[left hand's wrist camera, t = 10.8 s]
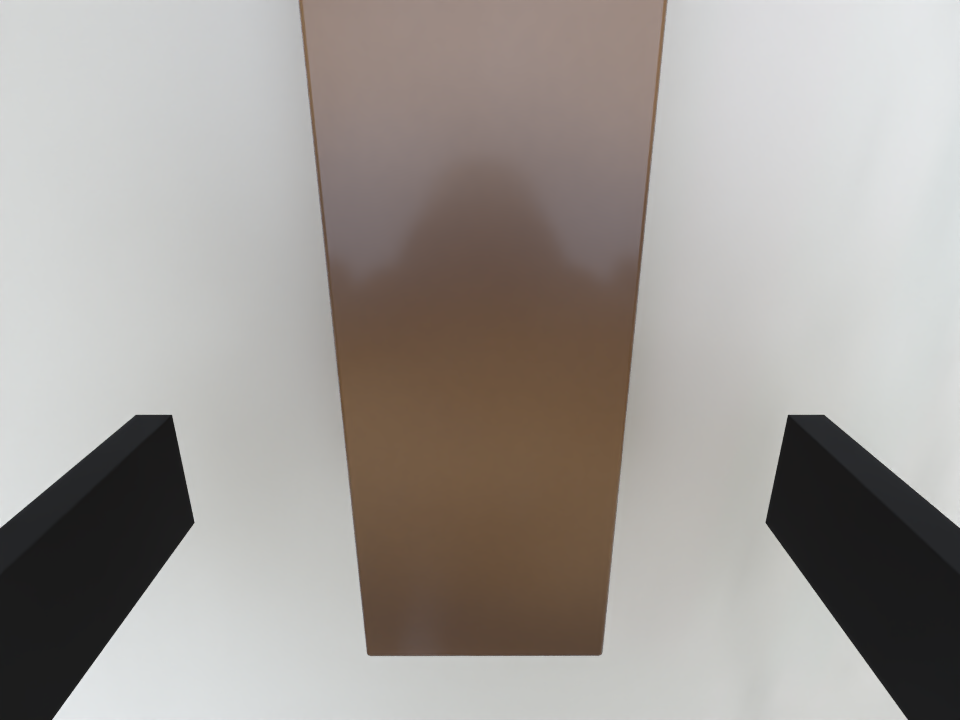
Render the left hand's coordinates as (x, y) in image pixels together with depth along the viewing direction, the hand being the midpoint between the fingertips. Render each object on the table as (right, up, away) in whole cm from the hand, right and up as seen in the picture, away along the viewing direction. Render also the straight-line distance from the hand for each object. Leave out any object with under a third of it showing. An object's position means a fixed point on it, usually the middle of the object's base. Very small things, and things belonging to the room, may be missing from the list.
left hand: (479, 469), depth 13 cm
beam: (0, +23, -2) cm, 23 cm away
